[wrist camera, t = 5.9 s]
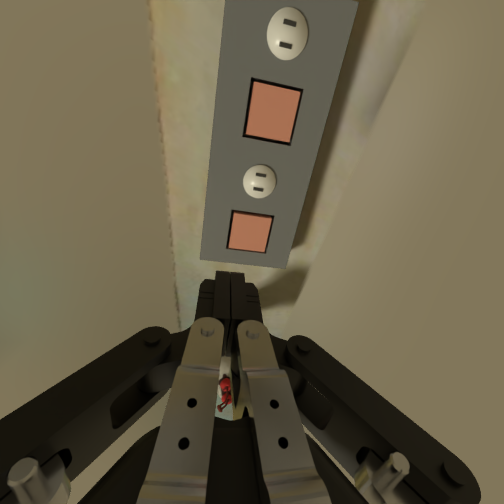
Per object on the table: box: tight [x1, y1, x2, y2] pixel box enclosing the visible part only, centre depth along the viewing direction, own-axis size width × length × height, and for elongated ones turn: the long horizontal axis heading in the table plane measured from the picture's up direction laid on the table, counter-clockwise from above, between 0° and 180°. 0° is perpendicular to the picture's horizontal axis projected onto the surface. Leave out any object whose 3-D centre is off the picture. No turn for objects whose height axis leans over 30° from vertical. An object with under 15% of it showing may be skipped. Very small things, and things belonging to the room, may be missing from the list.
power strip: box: [200, 0, 359, 269], centre depth 26 cm, size 24×10×4 cm, turn 170°
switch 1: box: [229, 210, 272, 252], centre depth 29 cm, size 4×4×2 cm
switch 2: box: [245, 82, 300, 142], centre depth 23 cm, size 4×4×2 cm
